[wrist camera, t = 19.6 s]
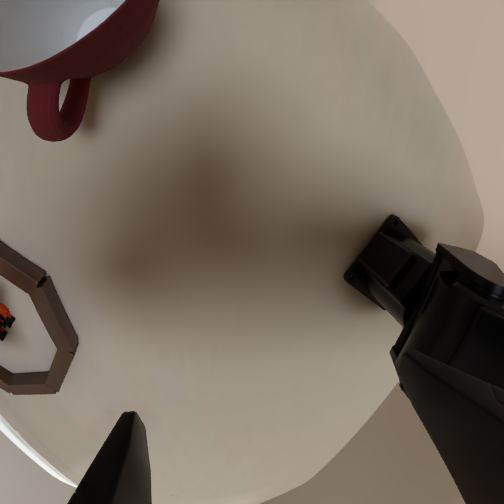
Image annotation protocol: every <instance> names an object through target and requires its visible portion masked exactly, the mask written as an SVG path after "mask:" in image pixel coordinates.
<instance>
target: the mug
mask: <svg viewBox="0 0 504 504" xmlns="http://www.w3.org/2000/svg"><path fill="white" fill-rule="evenodd" d="M158 3H159V0H0V77H5V78H9V79H13V80H17V81H21V82H24V83H26V84H28V87H29V88H28V95H27V116H28V120H29V123H30V125H31V127H32V129H33V131H34V132H35V134H36V135H37V136H38V137H40V138H41V139H43V140H46V141H52V142H55V141H62V140H65V139H67V138H69V137H70V136H71V135H72V134H73V133H74V132H75V131H76V130H77V129H78V127H79V125H80V123H81V121H82V119H83V116H84V113H85V109H86V105H87V100H88V94H89V88H90V82H91V78H92V77H94V76H96V75H98V74H100V73H103V72H105V71H107V70H110V69H111V68H113V67H115V66H117V65H119V64H120V63H122V62H123V61H124V60H126V59H127V58H128V57H129V56H131V55H132V54H133V53H134V52H135V51H136V50H137V49H138V47H139V46H140V45H141V44H142V42H143V41H144V39H145V38H146V36H147V35H148V33H149V31H150V28H151V26H152V23H153V20H154V17H155V14H156V10H157V7H158ZM68 79H70V84H69V87H68V91H67V94H66V97H65V100H64V103H63V105H62V108H61V110H60V112H59V94H60V88H61V84H62V82H64V81H65V80H68Z"/></svg>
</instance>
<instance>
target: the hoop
mask: <svg viewBox="0 0 504 504" xmlns="http://www.w3.org/2000/svg"><path fill="white" fill-rule="evenodd" d="M45 273H46V272H45V271H44V270H42V269H40V268H39V267H37V266H36V265H34V264H33V263H31V262H30V261H28V260H27V259H25V258H24V257H22V256H21V255H19V254H18V253H17V252H15V251H14V250H12V249H11V248H9V247H8V246H7V245H5V244H4V243H2V242H1V241H0V275H1V276H3V277H4V278H5V279H7V280H8V281H10V282H11V283H13V284H14V285H16V286H17V287H19V288H20V289H22V290H23V291H25V292H26V293H28V294H29V295H30V297H31V299H32V301H33V303H34V306H35V308H36V310H37V312H38V314H39V316H40V318H41V320H42V322H43V324H44V326H45V327H46V329H47V331H48V333H49V335H50V337H51V339H52V340H53V342H54V344H55V346H56V347H57V349H58V350H57V352H56V355H55V358H54V360H53V363H52V366H51V369H50V371H49V372H40V373H25V374H12V373H10V372H9V371H7V370H5V369H4V368H2V367H1V366H0V388H1V389H3V390H5V391H6V392H8V393H10V392H11V393H12V394H13V395H33V394H56V392H59V390H60V387H61V385H62V382H63V380H64V378H65V375H66V373H67V371H68V369H69V366H70V364H71V362H72V360H73V357H74V355H75V352H76V349H77V346H78V342H77V341H78V337H77V335H76V333H75V331H74V329H73V327H72V325H71V323H70V321H69V319H68V317H67V315H66V313H65V311H64V309H63V306H62V304H61V302H60V300H59V298H58V295H57V293H56V291H55V288H54V286H53V284H52V281H51V279H50V277H49V276H48V277H44V276H45Z"/></svg>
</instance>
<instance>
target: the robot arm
mask: <svg viewBox="0 0 504 504" xmlns="http://www.w3.org/2000/svg"><path fill="white" fill-rule="evenodd" d="M394 220H395V221H394ZM393 221H394V223H393ZM436 251H437V252H436V254H435V253H433V252H432V251H430V250H429V249H427V248H426V247H424V246H423V245H422V244H421V243H420V242H419V241H418V239H417V238H416V237H415V236H414V235H413V233H412V232H411V231H410V230H409V229H408V228H407V226H406V225H405V224H404V223H403V222H402V221H401V220H400V218H399V217H397V216H395V215H391V216H390V217H389V218H388V219H387V220H386V222H385V223H384V224H383V226H382V227H381V228H380V230H379V231H378V232H377V234H376V235H375V236H374V238H373V239H372V240H371V241H370V243H369V244H368V245H367V247H366V248H365V249H364V250H363V252H362V253H361V254H360V256H359V257H358V258H357V259H356V261H355V262H354V263H353V264H352V266H351V267H350V268H349V269H348V270H347V272H346V273H345V275H344V279H345V281H346V282H347V283H348V284H350V285H351V286H353V287H354V288H355V289H357V290H358V291H359V292H361V293H362V294H363V295H365V296H366V297H367V298H369V299H370V300H371V301H373V302H374V303H375V304H377V305H378V306H379V307H381V308H382V309H383V310H387V311H388V312H389V313H390V314H391V315H392V316H393V317H394V318H395V319H396V320H397V321H398V322H399V323H400V325H401V326H402V327H403V330H402V332H401V334H400V336H399V338H398V340H397V341H396V343H395V345H394V346H393V347H392V348H391V350H390V355H391V358H392V360H393V363H394V366H395V369H396V371H397V374H398V377H399V380H400V384H399V385H400V388H401V390H402V391H403V392H404V393H405V394H406V396H407V397H408V398H409V399H410V401H411V403H412V405H413V407H414V409H415V411H416V413H417V414H418V416H419V418H420V419H421V421H422V423H423V425H424V426H425V428H426V430H427V432H428V433H429V435H430V437H431V439H432V441H433V442H434V444H435V446H436V448H437V450H438V451H439V453H440V455H441V457H442V459H443V461H444V462H445V464H446V466H447V468H448V470H449V472H450V474H451V476H452V477H453V479H454V481H455V483H456V485H457V486H458V489H459V491H460V493H461V495H462V497H463V499H464V501H465V503H466V504H504V273H503V272H502V271H501V270H500V268H499V267H498V266H497V265H496V264H495V263H494V262H492V261H490V260H489V259H487V258H485V257H483V256H481V255H479V254H478V253H476V252H474V251H471V250H467V249H462V248H458V247H454V246H450V245H446V244H442V243H438V245H437V248H436ZM351 275H352V277H351V278H349V277H350V276H351ZM75 492H76V493H74V494H73V495H72V497H71V499H70V500H69V502H68V504H152V501H151V470H150V462H149V454H148V446H147V437H146V429H145V426H144V424H143V422H142V421H141V419H140V417H139V415H138V414H137V413H136V412H135V411H130V412H124V413H123V414H122V415H121V417H120V418H119V420H118V421H117V423H116V425H115V426H114V428H113V429H112V431H111V433H110V434H109V436H108V438H107V439H106V441H105V442H104V444H103V446H102V447H101V449H100V451H99V452H98V454H97V455H96V457H95V459H94V460H93V462H92V464H91V465H90V467H89V469H88V470H87V472H86V474H85V475H84V477H83V479H82V480H81V482H80V484H79V485H78V487H77V489H76V490H75Z"/></svg>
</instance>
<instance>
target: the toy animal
mask: <svg viewBox="0 0 504 504" xmlns="http://www.w3.org/2000/svg"><path fill="white" fill-rule="evenodd" d="M8 310H9V309H8V308H7V307H6V306H5V305H3V304H2V305H1V304H0V340H1V341H3V340H4V338H5V336H6V335H7V332H6V331H5V330H4V329H3V328H2V326H3V327H4V328H5V327H6V326H8V327H9V328H10V327H11V326H12V324H13V322H14V320H15V318H14V317H13V316H12V315H10V314H9V311H8Z"/></svg>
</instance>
